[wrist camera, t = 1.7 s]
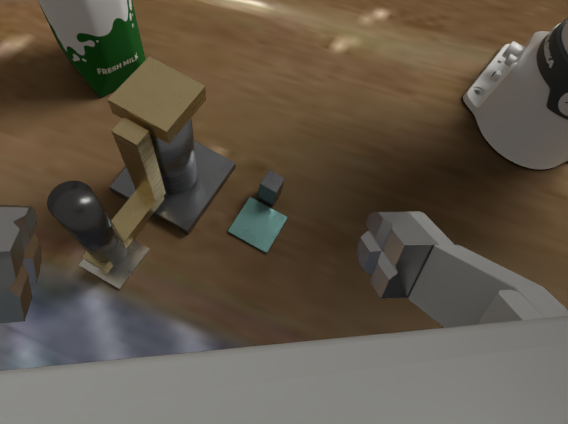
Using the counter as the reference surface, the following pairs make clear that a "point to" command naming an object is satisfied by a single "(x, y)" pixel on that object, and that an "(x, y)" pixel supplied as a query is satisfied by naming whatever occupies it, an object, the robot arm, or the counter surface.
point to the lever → (130, 161)
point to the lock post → (196, 199)
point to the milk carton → (97, 39)
